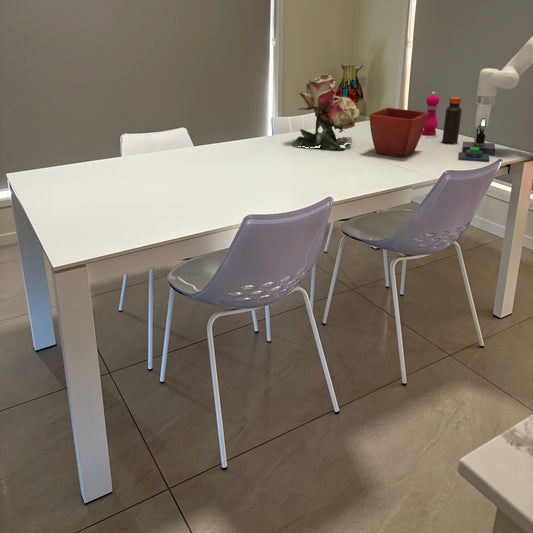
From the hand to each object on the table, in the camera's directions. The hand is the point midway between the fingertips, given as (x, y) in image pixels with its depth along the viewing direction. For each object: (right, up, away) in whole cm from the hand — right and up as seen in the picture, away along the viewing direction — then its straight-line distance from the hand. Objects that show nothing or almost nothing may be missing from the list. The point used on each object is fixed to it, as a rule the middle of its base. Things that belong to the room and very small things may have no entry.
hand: (479, 140), depth 252 cm
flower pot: (-36, -5, +2) cm, 36 cm away
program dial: (0, -2, +1) cm, 2 cm away
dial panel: (0, -4, +2) cm, 5 cm away
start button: (-5, -7, -9) cm, 12 cm away
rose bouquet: (-64, +3, +18) cm, 66 cm away
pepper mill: (-13, +10, +33) cm, 37 cm away
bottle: (-7, +3, +17) cm, 19 cm away
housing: (-5, -9, -8) cm, 13 cm away
